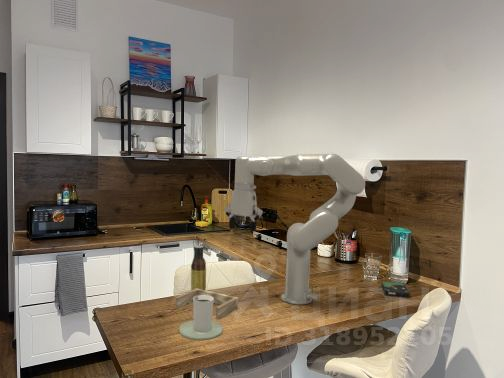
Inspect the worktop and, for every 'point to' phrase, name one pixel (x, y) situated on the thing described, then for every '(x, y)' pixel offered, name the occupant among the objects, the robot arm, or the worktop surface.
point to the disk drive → (395, 289)
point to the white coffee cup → (203, 312)
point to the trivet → (190, 333)
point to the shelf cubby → (223, 300)
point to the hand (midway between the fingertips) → (242, 229)
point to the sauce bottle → (198, 269)
